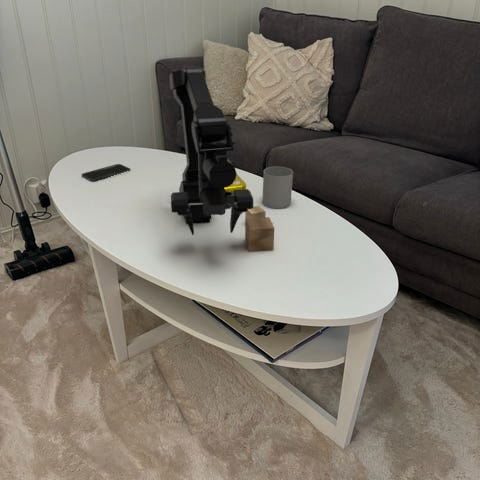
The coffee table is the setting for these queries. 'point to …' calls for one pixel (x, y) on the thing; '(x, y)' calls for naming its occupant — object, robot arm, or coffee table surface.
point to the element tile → (236, 184)
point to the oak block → (255, 212)
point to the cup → (277, 187)
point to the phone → (105, 172)
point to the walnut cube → (259, 234)
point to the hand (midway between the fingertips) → (212, 233)
